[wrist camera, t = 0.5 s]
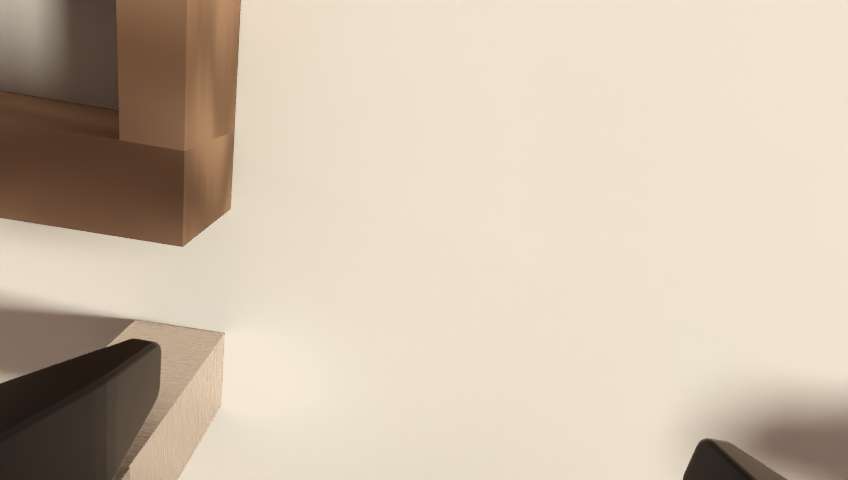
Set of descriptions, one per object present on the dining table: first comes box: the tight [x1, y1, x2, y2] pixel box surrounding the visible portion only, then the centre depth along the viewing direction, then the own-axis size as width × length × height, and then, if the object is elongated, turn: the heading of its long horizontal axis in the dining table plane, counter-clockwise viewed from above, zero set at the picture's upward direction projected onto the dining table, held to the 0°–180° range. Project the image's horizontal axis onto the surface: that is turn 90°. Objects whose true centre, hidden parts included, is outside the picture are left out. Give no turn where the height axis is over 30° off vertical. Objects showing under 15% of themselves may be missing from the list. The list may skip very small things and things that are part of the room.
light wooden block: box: [106, 320, 225, 480], centre depth 20 cm, size 4×4×9 cm
